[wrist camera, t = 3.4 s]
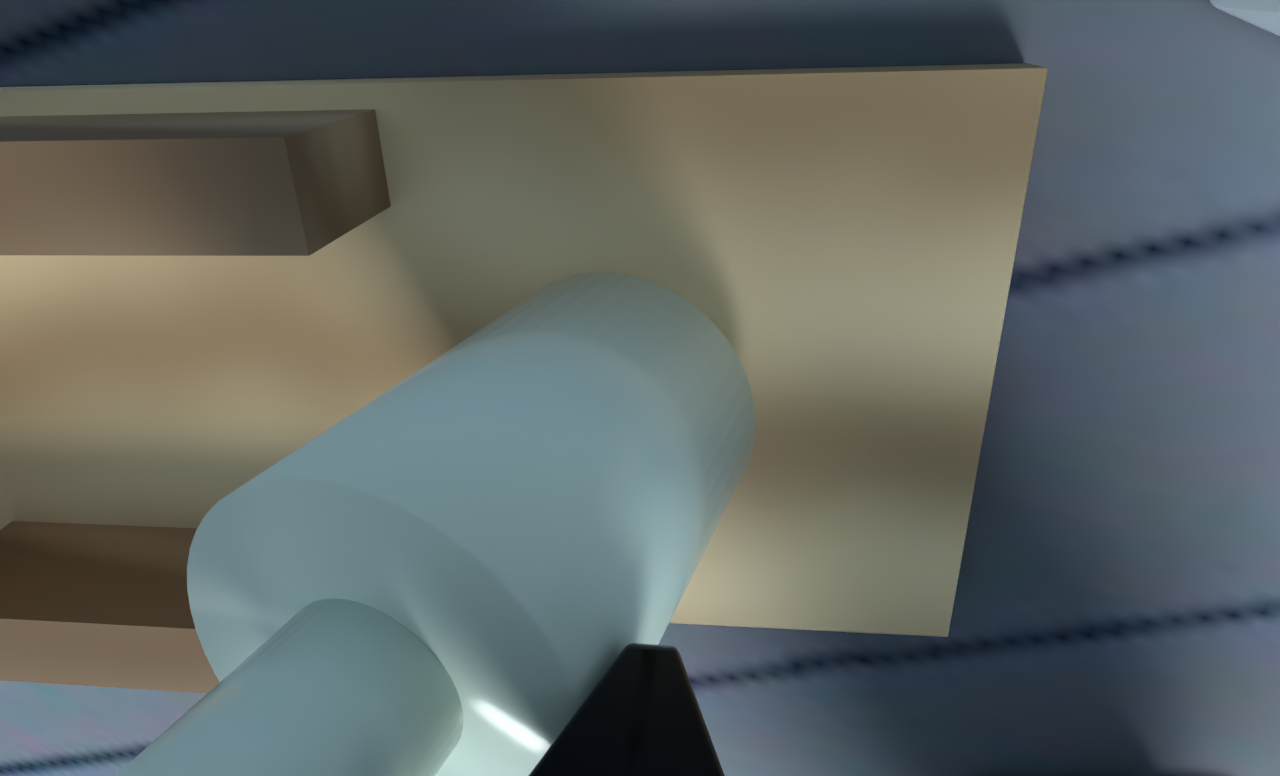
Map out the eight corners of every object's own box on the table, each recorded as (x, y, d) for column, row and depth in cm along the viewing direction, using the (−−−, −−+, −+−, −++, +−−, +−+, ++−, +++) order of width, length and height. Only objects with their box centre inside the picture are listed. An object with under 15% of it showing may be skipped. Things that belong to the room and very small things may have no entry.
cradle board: (936, 604, 18) (997, 784, 14) (-18, 560, 20) (-207, 701, 16) (1026, 62, 13) (1159, 91, 9) (-239, 92, 15) (-586, 126, 11)
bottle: (750, 547, 15) (419, 1351, 6) (509, 501, 16) (-32, 1076, 8) (761, 285, 13) (271, 927, 4) (482, 262, 14) (-308, 672, 5)
